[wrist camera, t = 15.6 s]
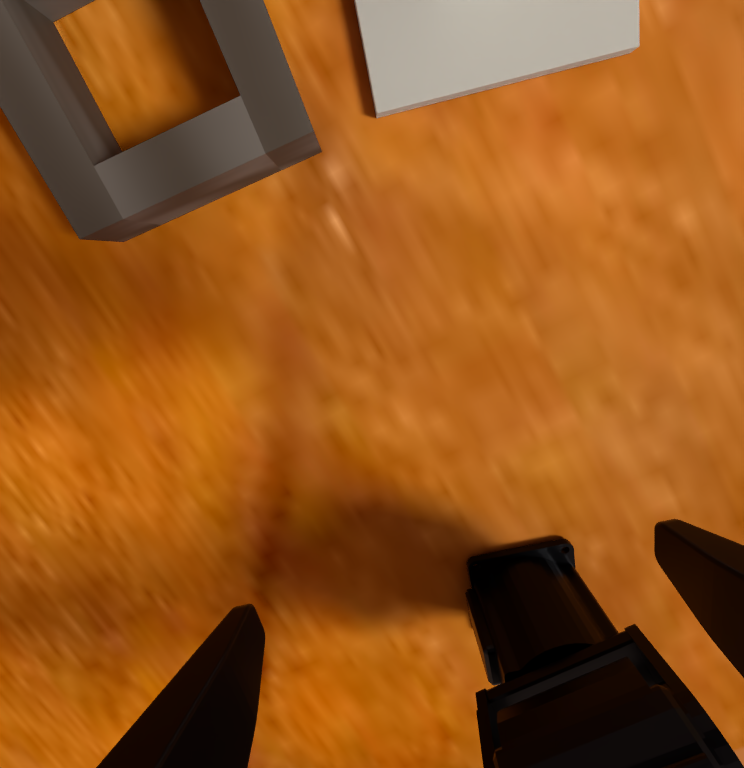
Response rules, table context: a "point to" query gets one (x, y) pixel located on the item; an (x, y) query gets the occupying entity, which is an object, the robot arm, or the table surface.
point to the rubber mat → (483, 44)
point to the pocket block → (163, 152)
